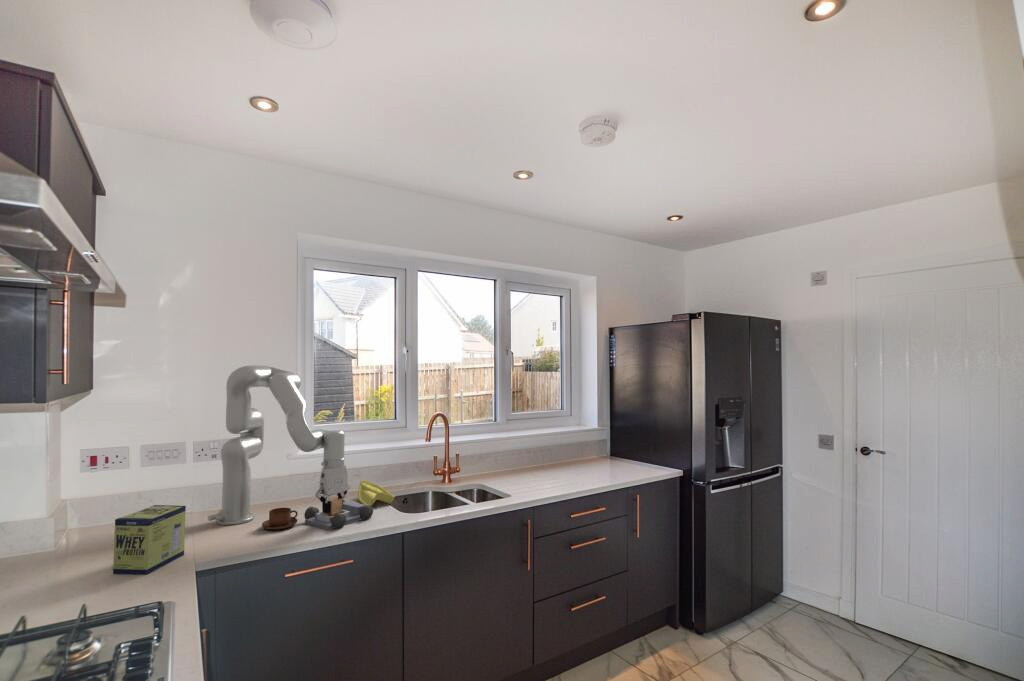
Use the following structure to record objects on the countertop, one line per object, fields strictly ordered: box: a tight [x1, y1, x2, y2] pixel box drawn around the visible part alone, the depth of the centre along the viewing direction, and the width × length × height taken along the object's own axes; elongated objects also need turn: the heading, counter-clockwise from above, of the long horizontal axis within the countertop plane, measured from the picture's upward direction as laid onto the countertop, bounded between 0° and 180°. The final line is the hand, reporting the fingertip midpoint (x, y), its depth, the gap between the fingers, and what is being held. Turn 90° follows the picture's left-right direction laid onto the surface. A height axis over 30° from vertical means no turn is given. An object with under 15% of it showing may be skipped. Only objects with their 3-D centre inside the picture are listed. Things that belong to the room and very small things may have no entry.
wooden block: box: [323, 496, 342, 516], centre depth 191 cm, size 5×5×7 cm
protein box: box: [112, 504, 187, 576], centre depth 150 cm, size 10×16×16 cm
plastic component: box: [357, 479, 396, 507], centre depth 221 cm, size 20×8×10 cm
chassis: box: [303, 499, 374, 531], centre depth 193 cm, size 20×18×5 cm
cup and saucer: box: [261, 507, 299, 531], centre depth 185 cm, size 12×12×6 cm
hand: (332, 510), depth 191 cm, fingers open, 5 cm apart
